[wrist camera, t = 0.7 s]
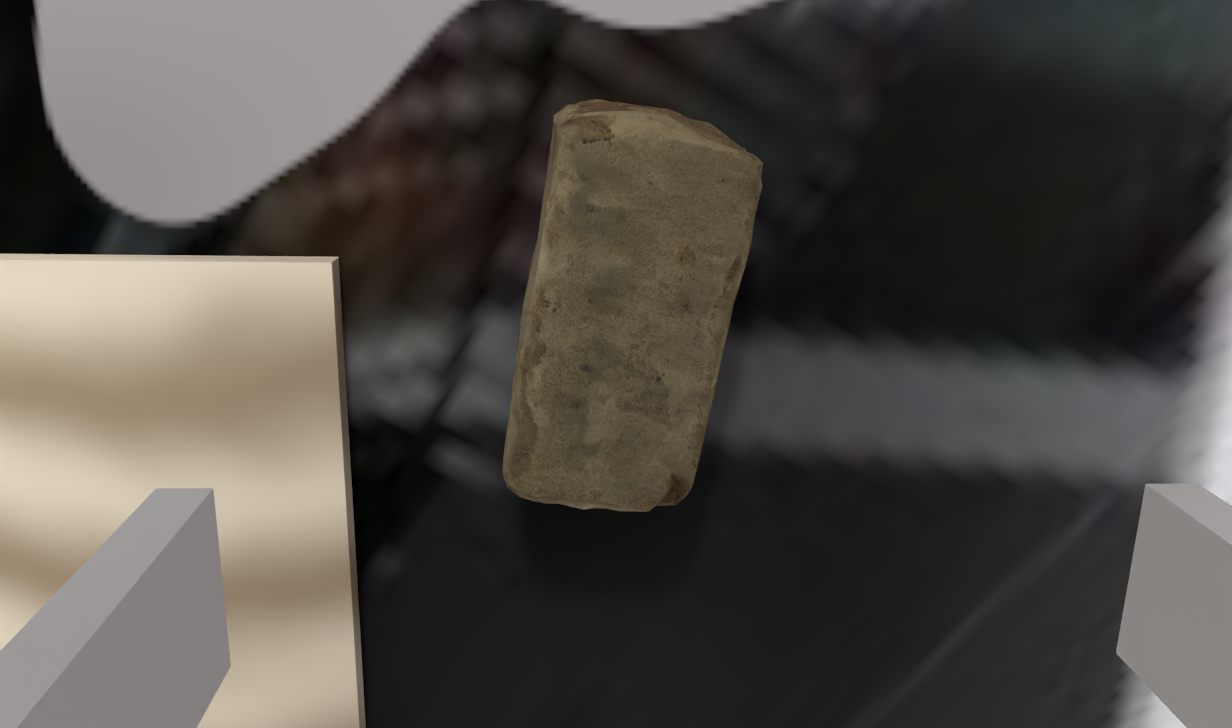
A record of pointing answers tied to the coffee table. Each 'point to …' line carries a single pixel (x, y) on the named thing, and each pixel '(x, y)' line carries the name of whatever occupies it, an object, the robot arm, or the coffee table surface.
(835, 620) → the coffee table surface
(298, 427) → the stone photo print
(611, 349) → the stone block
